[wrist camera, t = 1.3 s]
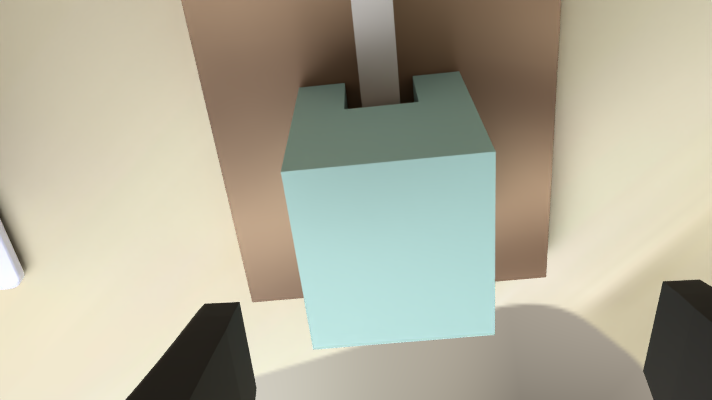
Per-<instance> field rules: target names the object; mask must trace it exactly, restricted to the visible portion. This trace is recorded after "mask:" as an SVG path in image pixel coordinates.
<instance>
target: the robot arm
mask: <svg viewBox="0 0 712 400" xmlns="http://www.w3.org/2000/svg"><path fill="white" fill-rule="evenodd" d="M23 278H24V271H23V269H22V267H21V264H20V262H19V260H18V258H17V255H16V253H15V251H14V249H13V247H12V244H11V242H10V240H9V238H8V235H7V233H6V231H5V229H4V226H3V224H2V222H1V220H0V290H1V289H11V288H15V287H17V286H18V285H19V284H20V283H21V281H22V280H23ZM643 372H644V374H645V377H646V380H647V383H648V385H649V388H650V391H651V394H652V396H653V399H654V400H712V287H711V286H709V285H708V284H706V283H704V282H703V281H701V280H683V281H663V284H662V288H661V293H660V297H659V302H658V306H657V311H656V315H655V320H654V324H653V329H652V333H651V338H650V343H649V347H648V352H647V356H646V361H645V365H644V370H643ZM255 397H256V383H255V378H254V373H253V368H252V363H251V358H250V353H249V348H248V343H247V338H246V333H245V327H244V322H243V317H242V312H241V307H240V302H232V303H211V304H204V305H203V306H202V307H201V308H200V309H199V311H198V312H197V313H196V314H195V316H194V317H193V318H192V319H191V321H190V322H189V323H188V324H187V326H186V327H185V328H184V330H183V331H182V332H181V333H180V335H179V336H178V337H177V338H176V340H175V341H174V342H173V343H172V345H171V346H170V347H169V348H168V350H167V351H166V352H165V353H164V355H163V356H162V357H161V358H160V360H159V361H158V362H157V363H156V364H155V366H154V367H153V368H152V369H151V370H150V372H149V373H148V374H147V375H146V376H145V377H144V379H143V380H142V381H141V382H140V383H139V385H138V386H137V387H136V388H135V389H134V390H133V392H132V393H131V394H130V395H129V396H128V397H127V399H126V400H255Z"/></svg>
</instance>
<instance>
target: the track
mask: <svg viewBox="0 0 712 400" xmlns="http://www.w3.org/2000/svg"><path fill="white" fill-rule="evenodd" d="M181 1H182V6H183V10H184V14H185V18H186V23H187V27H188V31H189V35H190V40H191V44H192V48H193V52H194V57H195V61H196V65H197V69H198V74H199V78H200V82H201V86H202V91H203V95H204V99H205V103H206V108H207V112H208V116H209V120H210V124H211V129H212V133H213V137H214V141H215V146H216V150H217V154H218V158H219V163H220V167H221V171H222V175H223V180H224V184H225V188H226V192H227V197H228V201H229V205H230V209H231V214H232V218H233V222H234V226H235V231H236V235H237V239H238V243H239V248H240V252H241V256H242V260H243V265H244V269H245V273H246V277H247V281H248V286H249V290H250V294H251V298H252V302H261V301H273V300H285V299H296V298H304V296H303V291H302V285H301V280H300V274H299V269H298V263H297V258H296V253H295V247H294V242H293V236H292V231H291V225H290V220H289V214H288V209H287V204H286V198H285V193H284V187H283V182H282V176H281V168H282V164H283V159H284V155H285V150H286V145H287V141H288V136H289V132H290V127H291V122H292V118H293V113H294V108H295V104H296V99H297V95H298V90H299V88H300V87H310V86H320V85H330V84H339V83H345V88H346V97H347V105H348V109H353V108H363V107H373V106H383V105H393V104H403V103H413V102H414V92H413V76H418V75H428V74H438V73H447V72H457V71H459V72H460V74H461V76H462V79H463V81H464V83H465V85H466V87H467V90H468V92H469V94H470V96H471V98H472V101H473V103H474V105H475V107H476V109H477V112H478V114H479V116H480V118H481V120H482V123H483V125H484V127H485V129H486V131H487V134H488V136H489V138H490V140H491V142H492V145H493V147H494V149H495V151H496V184H495V281H506V280H518V279H530V278H541V277H546V268H547V250H548V232H549V213H550V195H551V177H552V159H553V140H554V122H555V104H556V86H557V68H558V49H559V31H560V13H561V0H181Z"/></svg>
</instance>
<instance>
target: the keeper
mask: <svg viewBox="0 0 712 400" xmlns="http://www.w3.org/2000/svg"><path fill="white" fill-rule="evenodd" d="M413 92H414V102H413V103H403V104H393V105H383V106H373V107H363V108H353V109H348V105H347V97H346V88H345V83H339V84H330V85H320V86H310V87H300V88H299V90H298V95H297V99H296V104H295V108H294V113H293V118H292V122H291V127H290V132H289V136H288V141H287V145H286V150H285V155H284V159H283V164H282V168H281V176H282V182H283V187H284V193H285V198H286V204H287V209H288V214H289V220H290V225H291V231H292V236H293V242H294V247H295V253H296V258H297V263H298V269H299V274H300V280H301V285H302V291H303V296H304V302H305V307H306V312H307V318H308V323H309V329H310V334H311V340H312V345H313V350H314V349H326V348H338V347H350V346H363V345H375V344H387V343H399V342H412V341H424V340H436V339H449V338H461V337H473V336H485V335H495V184H496V151H495V149H494V147H493V145H492V142H491V140H490V138H489V136H488V134H487V131H486V129H485V127H484V125H483V123H482V120H481V118H480V116H479V114H478V112H477V109H476V107H475V105H474V103H473V101H472V98H471V96H470V94H469V92H468V90H467V87H466V85H465V83H464V81H463V79H462V76H461V74H460V72H459V71H457V72H447V73H438V74H428V75H418V76H413Z"/></svg>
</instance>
